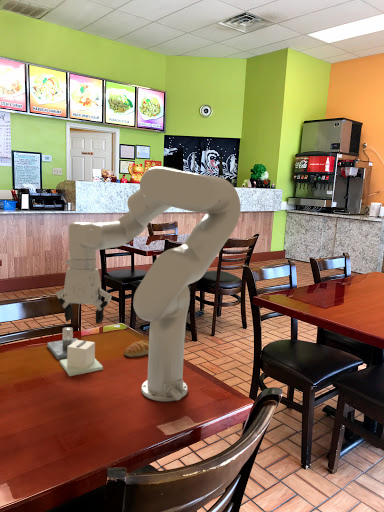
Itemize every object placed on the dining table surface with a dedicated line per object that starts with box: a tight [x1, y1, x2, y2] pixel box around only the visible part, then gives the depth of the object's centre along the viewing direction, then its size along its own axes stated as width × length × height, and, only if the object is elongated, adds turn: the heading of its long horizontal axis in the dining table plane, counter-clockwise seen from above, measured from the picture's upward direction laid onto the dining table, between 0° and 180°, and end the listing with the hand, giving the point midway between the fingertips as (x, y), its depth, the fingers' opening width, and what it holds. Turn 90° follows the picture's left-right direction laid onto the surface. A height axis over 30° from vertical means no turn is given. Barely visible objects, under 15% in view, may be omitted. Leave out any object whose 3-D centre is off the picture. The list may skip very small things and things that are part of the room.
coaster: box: [59, 358, 104, 377], centre depth 124 cm, size 10×10×1 cm
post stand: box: [47, 326, 79, 360], centre depth 135 cm, size 12×10×8 cm
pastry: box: [123, 339, 149, 358], centre depth 136 cm, size 9×7×4 cm
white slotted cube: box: [66, 339, 96, 369], centre depth 123 cm, size 6×6×6 cm
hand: (84, 321), depth 121 cm, fingers open, 9 cm apart
